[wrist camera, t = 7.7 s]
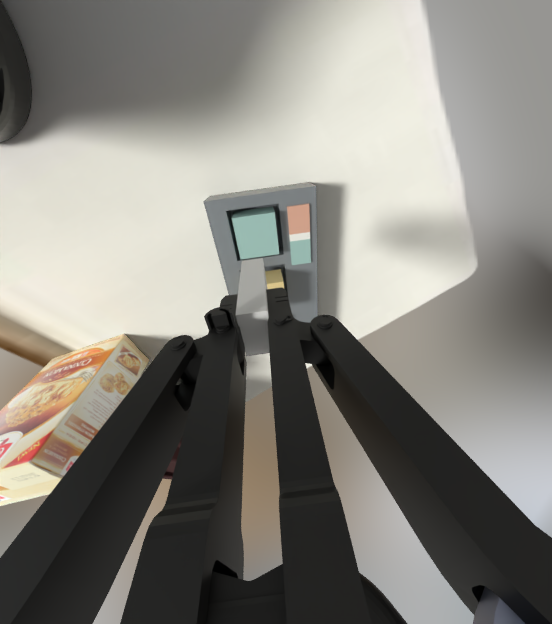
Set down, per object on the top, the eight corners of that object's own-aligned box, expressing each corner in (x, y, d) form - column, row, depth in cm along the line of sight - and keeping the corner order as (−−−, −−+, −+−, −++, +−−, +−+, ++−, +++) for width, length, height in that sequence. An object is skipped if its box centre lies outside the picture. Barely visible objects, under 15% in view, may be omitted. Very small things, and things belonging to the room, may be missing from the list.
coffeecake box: (124, 332, 38) (27, 462, 22) (151, 360, 42) (85, 488, 26) (50, 357, 40) (-90, 494, 23) (82, 381, 44) (-19, 513, 27)
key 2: (234, 211, 27) (231, 218, 24) (272, 206, 27) (274, 212, 24) (242, 249, 30) (240, 259, 27) (277, 244, 30) (279, 254, 27)
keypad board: (209, 196, 27) (203, 201, 24) (308, 182, 27) (316, 186, 24) (245, 335, 40) (244, 353, 36) (312, 326, 40) (318, 342, 36)
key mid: (244, 274, 29) (243, 287, 26) (280, 269, 29) (283, 281, 26) (251, 304, 32) (250, 319, 29) (284, 299, 32) (286, 314, 29)
